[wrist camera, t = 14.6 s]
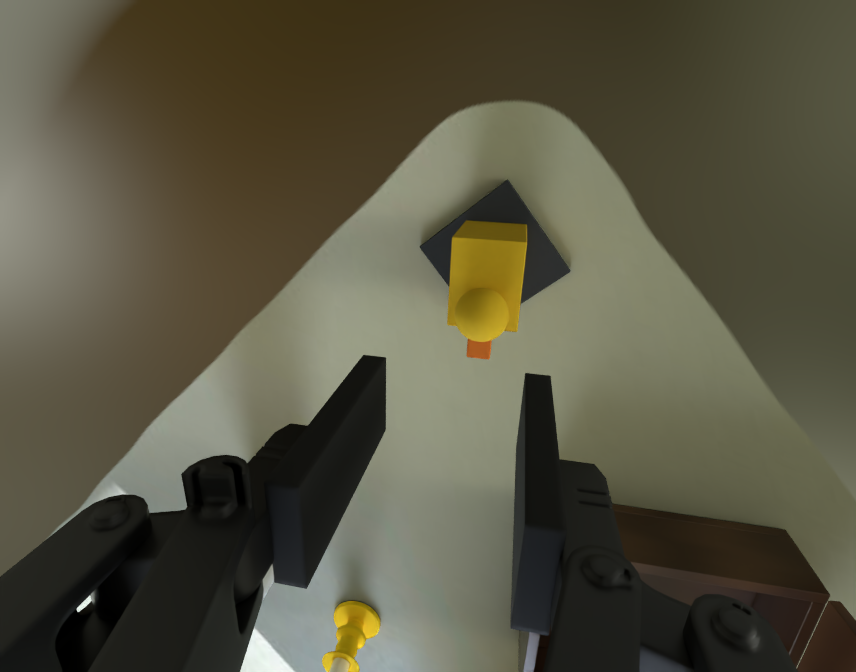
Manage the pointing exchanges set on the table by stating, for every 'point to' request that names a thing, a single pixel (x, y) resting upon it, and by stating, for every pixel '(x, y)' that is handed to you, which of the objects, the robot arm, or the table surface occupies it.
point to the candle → (351, 635)
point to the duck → (486, 281)
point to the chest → (714, 572)
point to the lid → (832, 642)
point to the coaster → (503, 208)
